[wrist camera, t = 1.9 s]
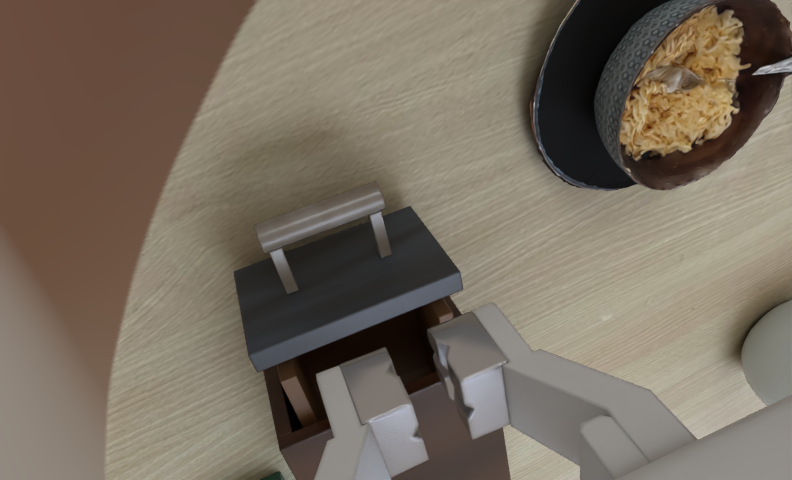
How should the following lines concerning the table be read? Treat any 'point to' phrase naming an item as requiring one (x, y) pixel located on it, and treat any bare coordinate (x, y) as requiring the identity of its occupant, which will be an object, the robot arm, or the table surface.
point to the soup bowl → (656, 88)
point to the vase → (770, 355)
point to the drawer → (343, 293)
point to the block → (274, 477)
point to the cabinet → (438, 425)
